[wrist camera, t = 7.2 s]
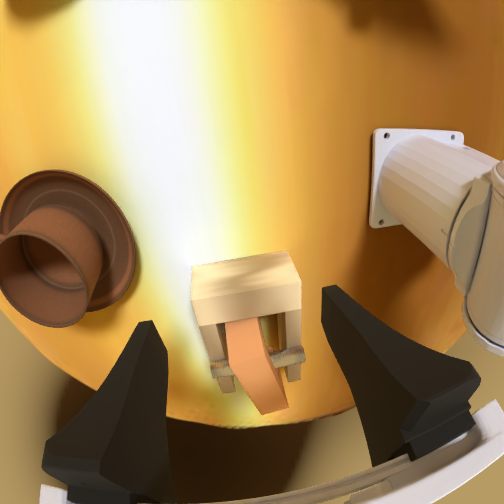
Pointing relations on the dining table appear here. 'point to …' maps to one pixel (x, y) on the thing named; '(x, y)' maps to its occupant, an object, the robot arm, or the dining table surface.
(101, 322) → the dining table surface
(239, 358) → the orange long block
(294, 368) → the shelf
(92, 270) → the cup and saucer
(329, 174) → the dining table surface
